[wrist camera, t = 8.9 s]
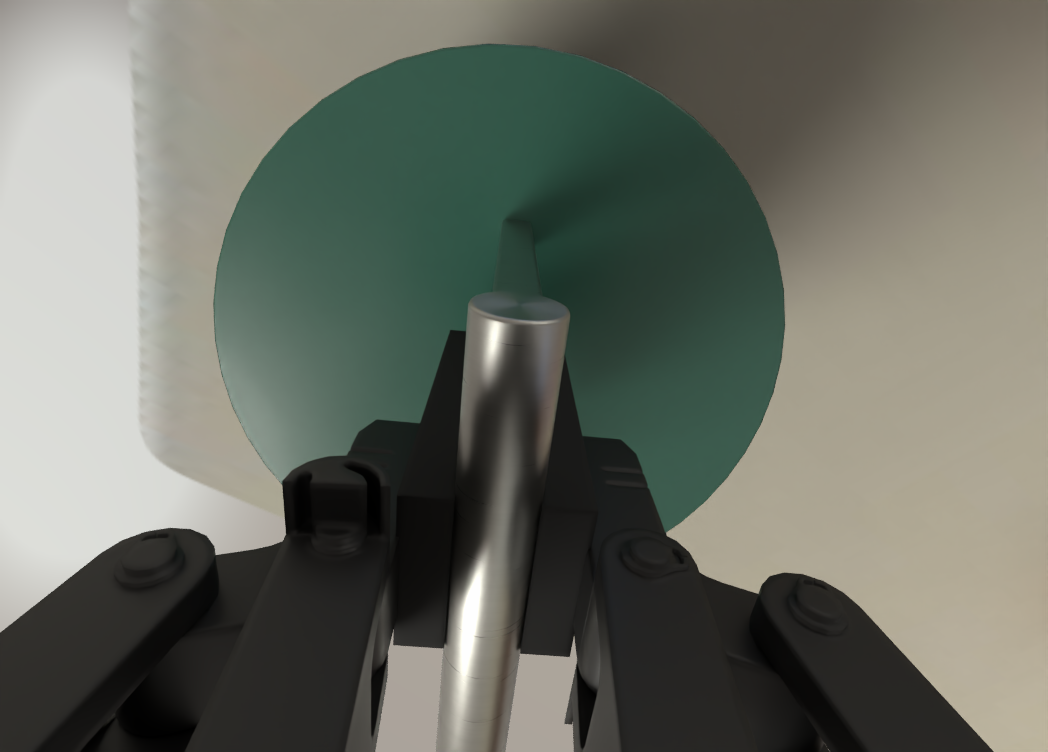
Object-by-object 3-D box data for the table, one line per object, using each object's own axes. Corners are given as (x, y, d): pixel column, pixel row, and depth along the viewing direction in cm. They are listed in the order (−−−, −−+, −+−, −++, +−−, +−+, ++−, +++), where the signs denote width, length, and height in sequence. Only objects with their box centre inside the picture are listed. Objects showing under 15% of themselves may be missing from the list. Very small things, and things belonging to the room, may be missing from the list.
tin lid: (842, 92, 14) (1395, 34, 5) (697, 572, 20) (837, 914, 11) (202, 10, 13) (-432, -226, 4) (256, 538, 19) (41, 881, 10)
